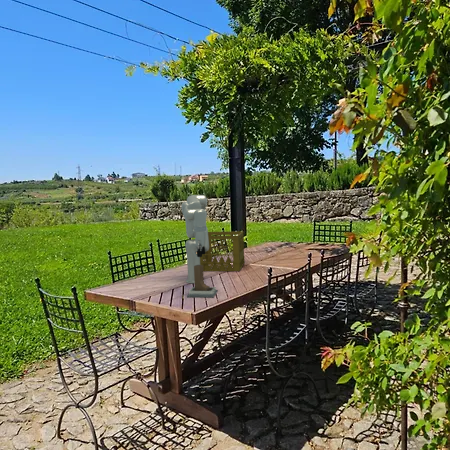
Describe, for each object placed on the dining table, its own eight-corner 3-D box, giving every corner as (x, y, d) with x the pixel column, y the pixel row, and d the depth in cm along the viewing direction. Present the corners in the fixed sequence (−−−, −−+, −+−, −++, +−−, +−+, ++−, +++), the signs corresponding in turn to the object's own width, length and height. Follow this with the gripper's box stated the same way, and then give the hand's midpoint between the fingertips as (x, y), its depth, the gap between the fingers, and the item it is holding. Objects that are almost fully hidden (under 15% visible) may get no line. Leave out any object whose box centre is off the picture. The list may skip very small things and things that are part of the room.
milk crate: (206, 263, 366) (205, 231, 363) (244, 263, 360) (243, 231, 357) (197, 271, 331) (196, 236, 329) (239, 271, 325) (238, 235, 322)
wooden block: (210, 292, 255) (209, 265, 254) (206, 294, 251) (205, 266, 250) (198, 291, 260) (197, 264, 258) (194, 293, 256) (193, 265, 254)
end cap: (192, 291, 265) (192, 286, 265) (217, 291, 262) (217, 286, 262) (187, 297, 249) (186, 292, 249) (213, 297, 247) (213, 292, 246)
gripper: (197, 227, 262) (198, 253, 263) (191, 230, 245) (192, 257, 246) (208, 227, 260) (209, 253, 262) (203, 230, 243) (204, 258, 245)
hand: (201, 255), depth 254 cm, fingers open, 9 cm apart
